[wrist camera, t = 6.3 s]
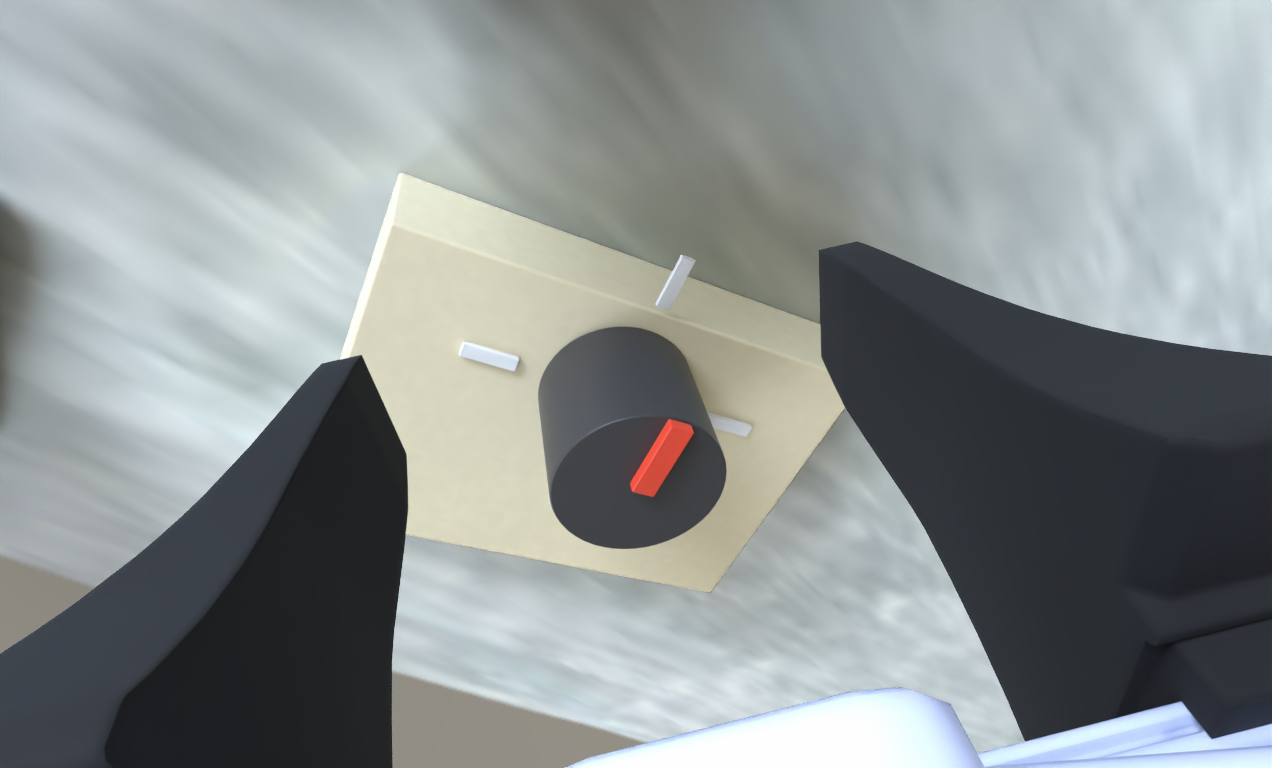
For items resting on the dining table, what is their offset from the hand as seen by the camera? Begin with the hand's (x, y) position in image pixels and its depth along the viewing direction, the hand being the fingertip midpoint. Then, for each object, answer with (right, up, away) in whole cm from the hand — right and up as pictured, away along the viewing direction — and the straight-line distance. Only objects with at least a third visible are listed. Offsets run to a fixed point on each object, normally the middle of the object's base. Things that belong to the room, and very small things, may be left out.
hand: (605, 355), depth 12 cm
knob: (0, -1, +8) cm, 8 cm away
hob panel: (-1, 0, +11) cm, 12 cm away
